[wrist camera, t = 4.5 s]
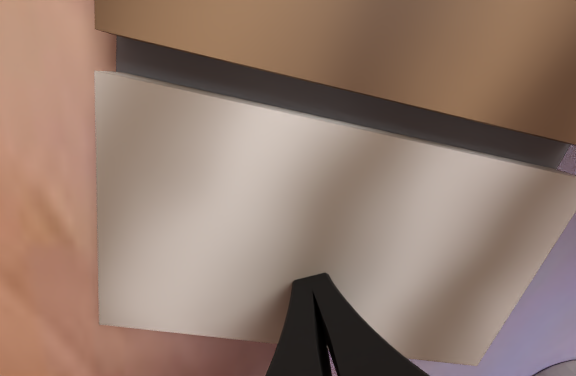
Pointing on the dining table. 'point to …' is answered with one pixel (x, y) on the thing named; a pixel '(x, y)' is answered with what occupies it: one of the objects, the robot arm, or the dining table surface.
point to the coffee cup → (560, 369)
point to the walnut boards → (387, 50)
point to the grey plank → (308, 221)
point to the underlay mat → (331, 103)
